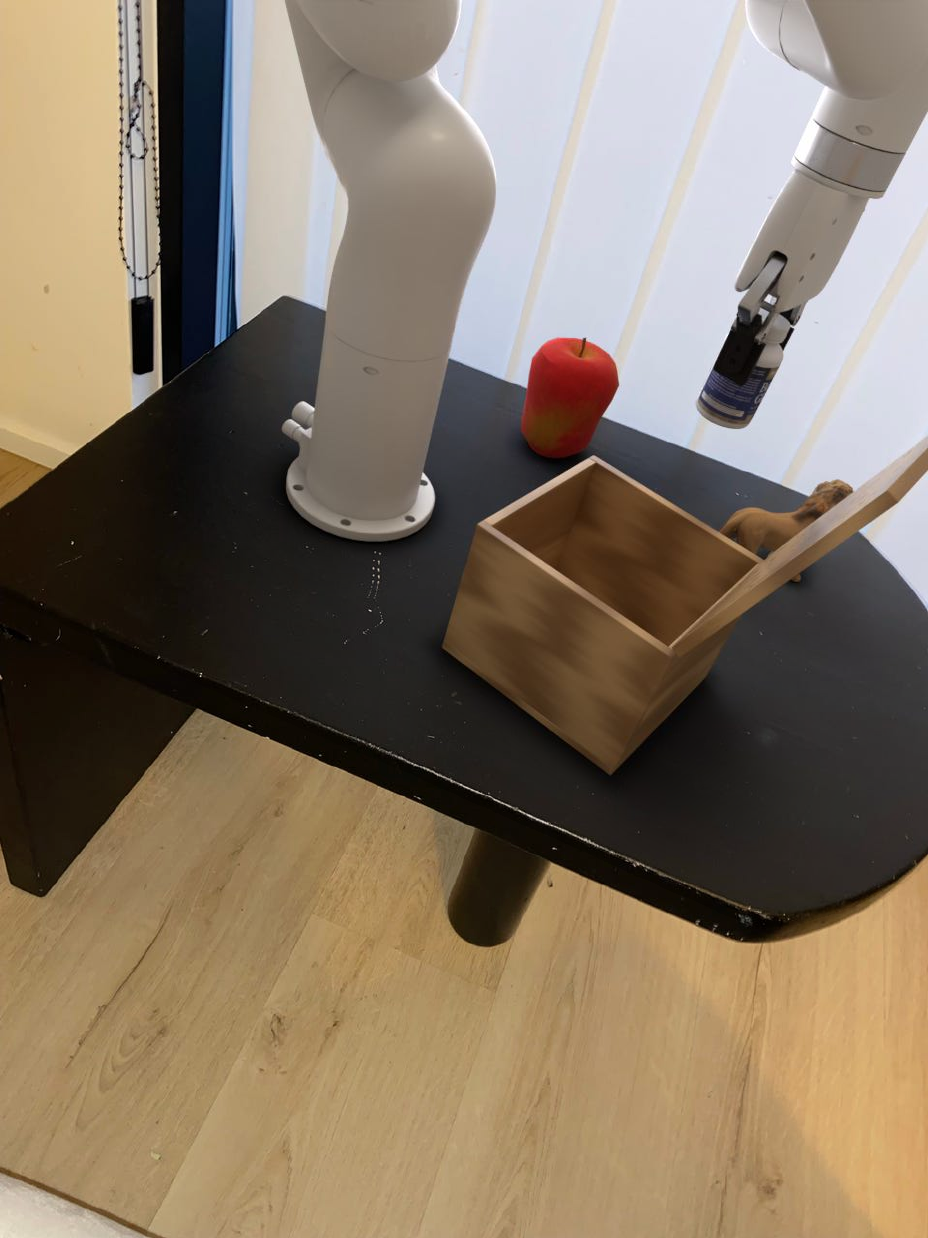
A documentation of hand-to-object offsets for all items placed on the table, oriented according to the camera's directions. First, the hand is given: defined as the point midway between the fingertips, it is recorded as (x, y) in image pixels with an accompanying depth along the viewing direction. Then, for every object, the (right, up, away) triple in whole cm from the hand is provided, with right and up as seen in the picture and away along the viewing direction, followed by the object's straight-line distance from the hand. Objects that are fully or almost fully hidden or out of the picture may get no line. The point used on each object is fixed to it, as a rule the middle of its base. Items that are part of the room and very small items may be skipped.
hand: (744, 367), depth 84 cm
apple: (-16, -5, +9) cm, 20 cm away
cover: (-5, -17, -29) cm, 34 cm away
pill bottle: (-1, -4, +3) cm, 5 cm away
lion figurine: (+2, -18, +2) cm, 18 cm away
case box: (-16, -26, -13) cm, 33 cm away
